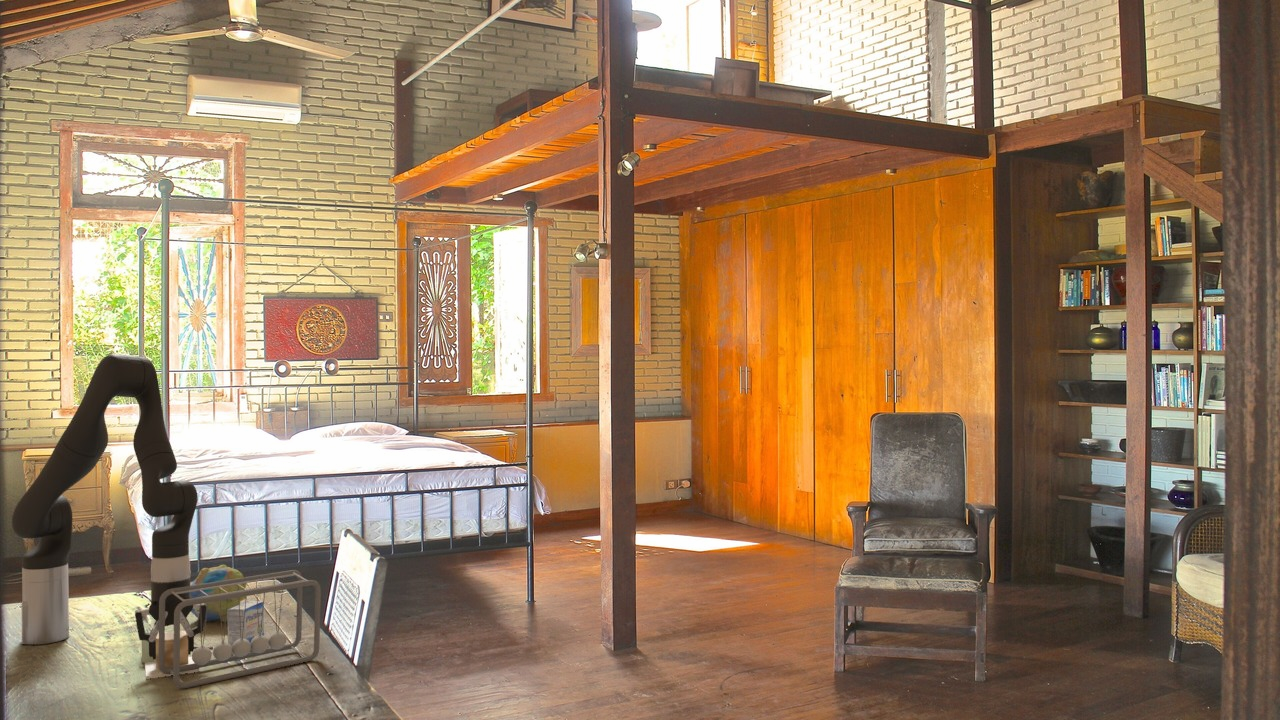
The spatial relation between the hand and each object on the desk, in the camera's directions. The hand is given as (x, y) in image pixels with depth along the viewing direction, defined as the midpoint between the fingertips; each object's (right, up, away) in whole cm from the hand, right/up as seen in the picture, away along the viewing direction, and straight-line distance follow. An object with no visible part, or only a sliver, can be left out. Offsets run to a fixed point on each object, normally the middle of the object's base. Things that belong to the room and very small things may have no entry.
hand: (171, 655), depth 214 cm
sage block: (-7, -3, +8) cm, 11 cm away
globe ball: (-5, -2, +39) cm, 39 cm away
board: (0, -3, 0) cm, 3 cm away
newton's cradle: (+15, -3, 0) cm, 15 cm away
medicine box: (+8, -3, +19) cm, 21 cm away
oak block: (0, -1, 0) cm, 1 cm away
